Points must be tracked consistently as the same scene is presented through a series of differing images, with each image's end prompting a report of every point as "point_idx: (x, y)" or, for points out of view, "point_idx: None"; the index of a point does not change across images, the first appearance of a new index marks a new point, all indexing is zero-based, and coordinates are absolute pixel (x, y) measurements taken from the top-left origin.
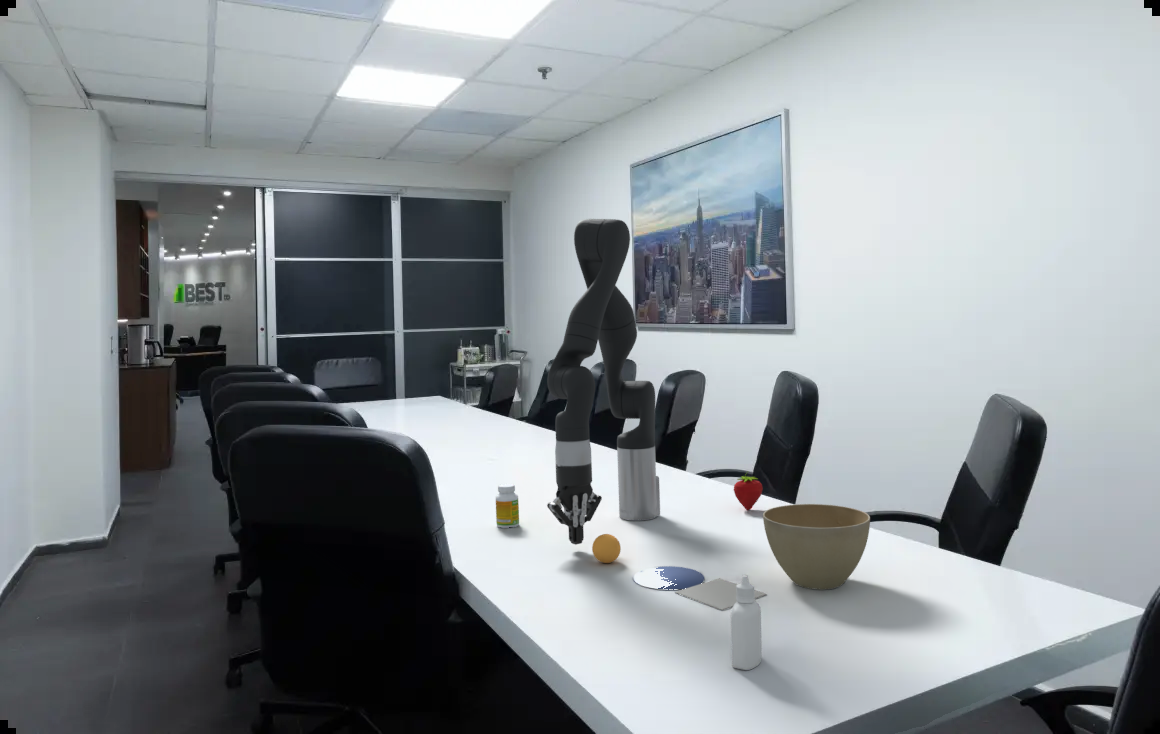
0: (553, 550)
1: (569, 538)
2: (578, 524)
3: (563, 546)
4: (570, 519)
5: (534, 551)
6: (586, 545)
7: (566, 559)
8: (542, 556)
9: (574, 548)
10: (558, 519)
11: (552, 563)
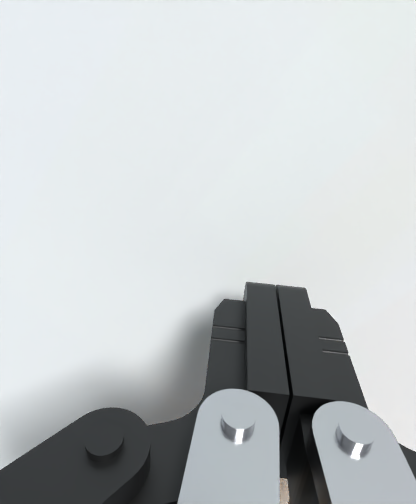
0: (147, 158)
1: (214, 319)
2: (290, 483)
3: (278, 129)
4: (241, 484)
5: (7, 56)
6: (411, 246)
7: (103, 354)
8: (9, 214)
9: (293, 236)
10: (3, 495)
11: (5, 349)
